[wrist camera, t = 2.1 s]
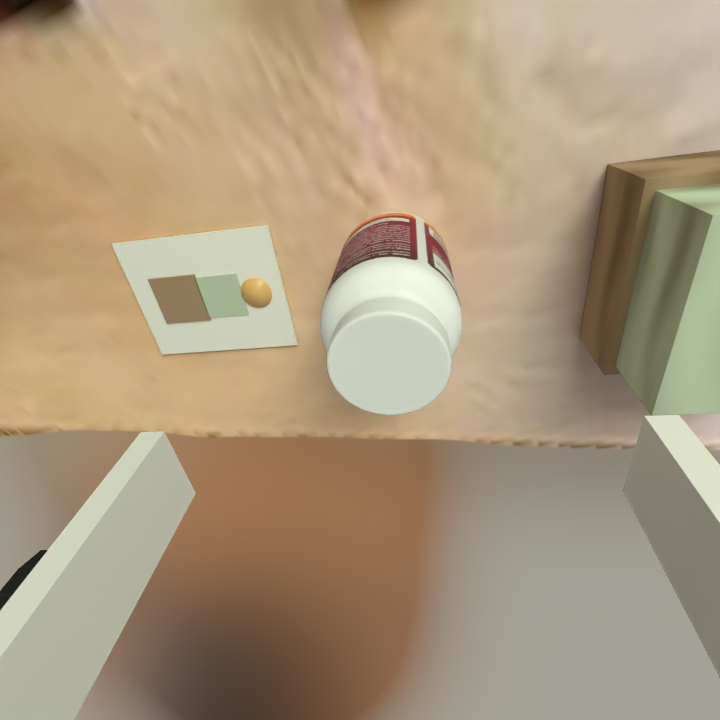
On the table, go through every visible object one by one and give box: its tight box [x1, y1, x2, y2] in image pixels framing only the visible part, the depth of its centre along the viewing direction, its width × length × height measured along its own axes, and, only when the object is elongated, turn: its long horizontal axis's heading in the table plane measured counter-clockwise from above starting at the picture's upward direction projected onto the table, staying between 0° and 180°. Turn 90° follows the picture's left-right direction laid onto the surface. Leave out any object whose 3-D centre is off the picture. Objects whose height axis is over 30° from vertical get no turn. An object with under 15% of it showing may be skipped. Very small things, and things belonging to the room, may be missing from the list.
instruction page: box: [112, 225, 298, 355], centre depth 27 cm, size 10×8×1 cm
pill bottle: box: [320, 211, 462, 415], centre depth 20 cm, size 6×6×11 cm
